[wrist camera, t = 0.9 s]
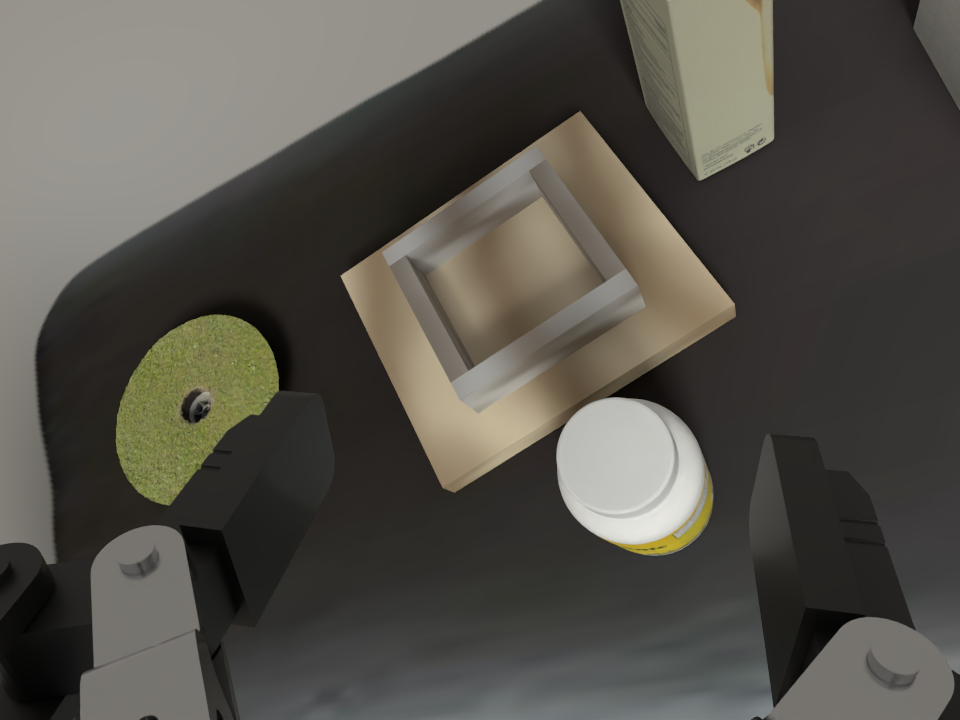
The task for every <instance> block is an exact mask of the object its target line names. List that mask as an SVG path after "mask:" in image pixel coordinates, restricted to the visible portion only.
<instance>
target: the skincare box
mask: <svg viewBox="0 0 960 720" xmlns="http://www.w3.org/2000/svg"><path fill="white" fill-rule="evenodd" d="M620 2H621V6H622V11H623V15H624V19H625V23H626V27H627V31H628V35H629V39H630V43H631V47H632V51H633V55H634V59H635V63H636V67H637V71H638V75H639V79H640V83H641V88H642V92H643V96H644V100H645V104H646V107H647V109H648V110H649V112H650V113H651V115H652V117H653V118H654V120H655V121H656V123H657V124H658V126H659V127H660V129H661V130H662V132H663V133H664V135H665V136H666V138H667V139H668V141H669V142H670V143H671V145H672V146H673V148H674V149H675V151H676V152H677V153H678V155H679V156H680V157H681V159H682V160H683V162H684V163H685V164H686V166H687V167H688V168H689V170H690V171H691V172H692V173H693V175H694V176H695V177H696V179H697V180H699V181H700V180H703V179H705V178H707V177H708V176H710V175H712V174H714V173H716V172H718V171H720V170H722V169H724V168H726V167H728V166H729V165H731V164H733V163H735V162H737V161H739V160H741V159H742V158H744V157H746V156H748V155H749V154H751V153H753V152H755V151H756V150H758V149H760V148H762V147H763V146H765V145H766V144H768V143H770V142H771V141H773V139H774V93H773V85H774V82H773V0H620Z"/></svg>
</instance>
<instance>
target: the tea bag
mask: <svg viewBox="0 0 960 720" xmlns="http://www.w3.org/2000/svg"><path fill="white" fill-rule="evenodd" d="M913 29H914V31H915V33H916V34H917V36H918V38H919V40H920V41H921V43H922V45H923V47H924V48H925V50H926V52H927V54H928V55H929V57H930V59H931V61H932V63H933V64H934V66H935V68H936V70H937V71H938V73H939V75H940V77H941V78H942V80H943V82H944V84H945V85H946V87H947V89H948V91H949V92H950V94H951V96H952V98H953V100H954V101H955V103H956V105H957V107H958V108H959V110H960V0H920V3H919V7H918V11H917V15H916V19H915V23H914V27H913Z"/></svg>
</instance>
